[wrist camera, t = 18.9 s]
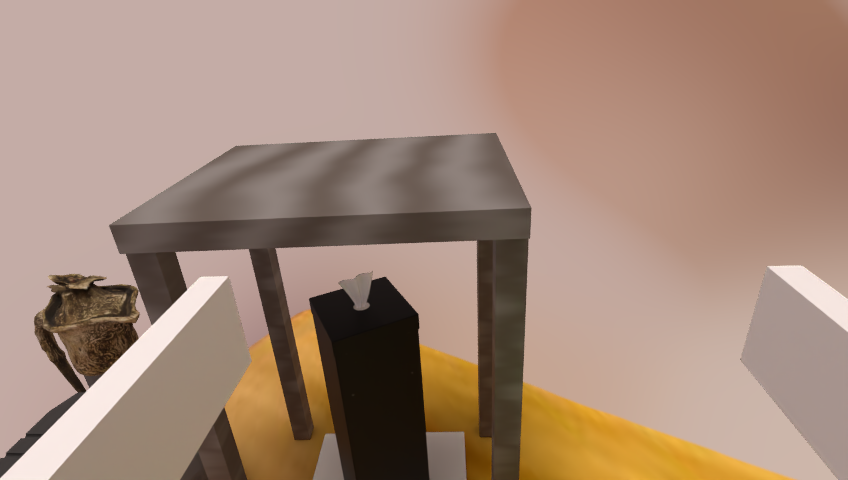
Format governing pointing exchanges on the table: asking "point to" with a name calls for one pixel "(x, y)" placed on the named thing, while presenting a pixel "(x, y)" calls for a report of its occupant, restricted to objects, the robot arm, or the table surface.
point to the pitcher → (92, 332)
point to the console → (352, 225)
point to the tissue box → (373, 379)
